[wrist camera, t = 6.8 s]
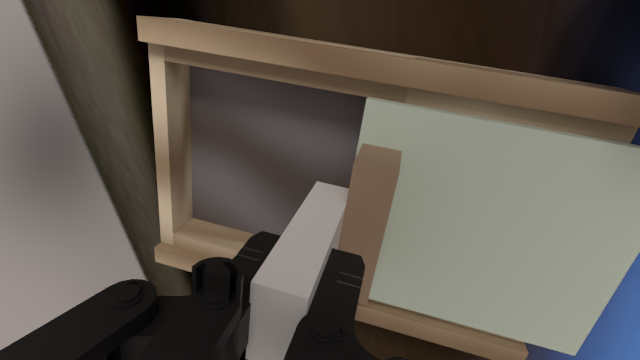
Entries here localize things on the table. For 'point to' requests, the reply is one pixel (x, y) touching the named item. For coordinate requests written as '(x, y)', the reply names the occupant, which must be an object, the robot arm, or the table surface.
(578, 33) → the table surface
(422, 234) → the lid
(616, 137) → the wooden box
